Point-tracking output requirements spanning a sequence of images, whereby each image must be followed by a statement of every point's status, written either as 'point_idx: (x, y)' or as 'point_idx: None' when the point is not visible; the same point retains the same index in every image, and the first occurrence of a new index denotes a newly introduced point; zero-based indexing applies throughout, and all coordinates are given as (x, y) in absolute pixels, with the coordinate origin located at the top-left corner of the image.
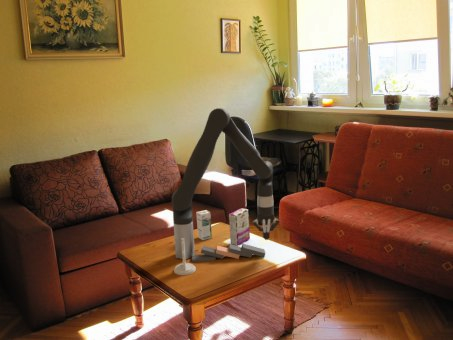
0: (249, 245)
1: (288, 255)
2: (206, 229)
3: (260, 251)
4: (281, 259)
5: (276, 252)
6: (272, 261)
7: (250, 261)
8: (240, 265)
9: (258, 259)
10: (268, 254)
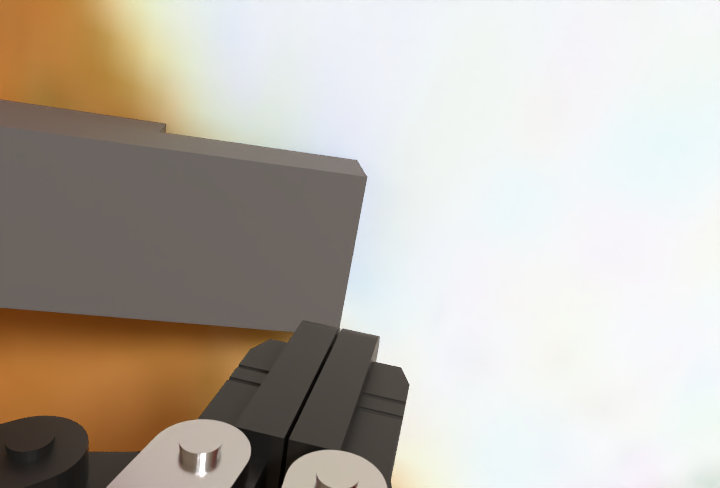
0: (77, 141)
1: (696, 381)
2: None
3: (261, 305)
4: (532, 455)
5: (569, 213)
6: (395, 461)
7: (135, 359)
8: (16, 410)
9: (240, 343)
10: (419, 240)
